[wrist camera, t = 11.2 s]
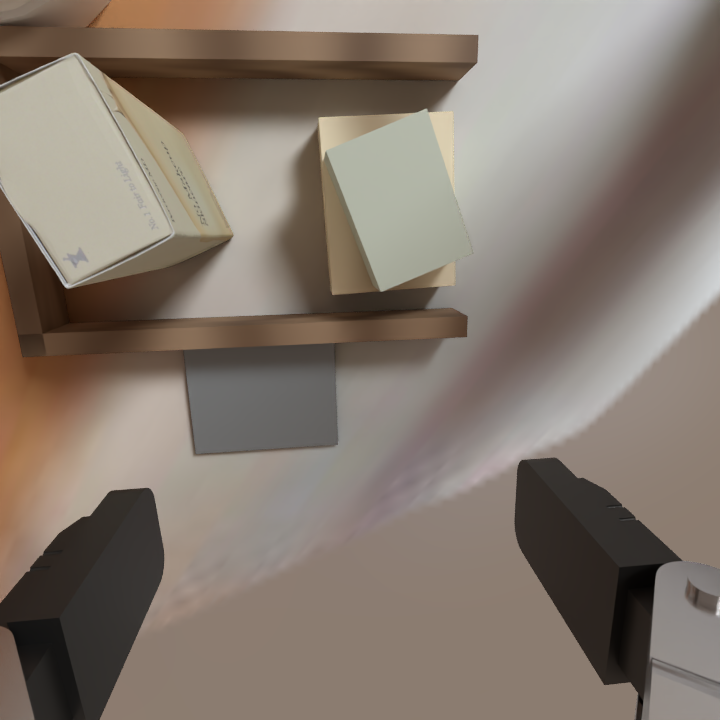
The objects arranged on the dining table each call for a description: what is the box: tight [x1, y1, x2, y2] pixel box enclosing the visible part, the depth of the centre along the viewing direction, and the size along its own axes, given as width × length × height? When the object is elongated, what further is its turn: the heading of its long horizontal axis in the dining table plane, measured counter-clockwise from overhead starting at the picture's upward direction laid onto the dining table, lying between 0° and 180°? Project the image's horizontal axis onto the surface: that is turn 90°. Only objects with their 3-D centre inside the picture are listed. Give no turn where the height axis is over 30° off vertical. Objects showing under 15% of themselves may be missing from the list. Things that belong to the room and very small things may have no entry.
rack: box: [0, 26, 478, 357], centre depth 26 cm, size 24×15×3 cm, turn 91°
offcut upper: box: [324, 108, 473, 292], centre depth 24 cm, size 5×7×3 cm
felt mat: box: [183, 343, 338, 454], centre depth 30 cm, size 9×7×1 cm
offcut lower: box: [317, 111, 455, 295], centre depth 27 cm, size 7×9×3 cm
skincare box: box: [0, 53, 233, 289], centre depth 21 cm, size 6×4×12 cm
